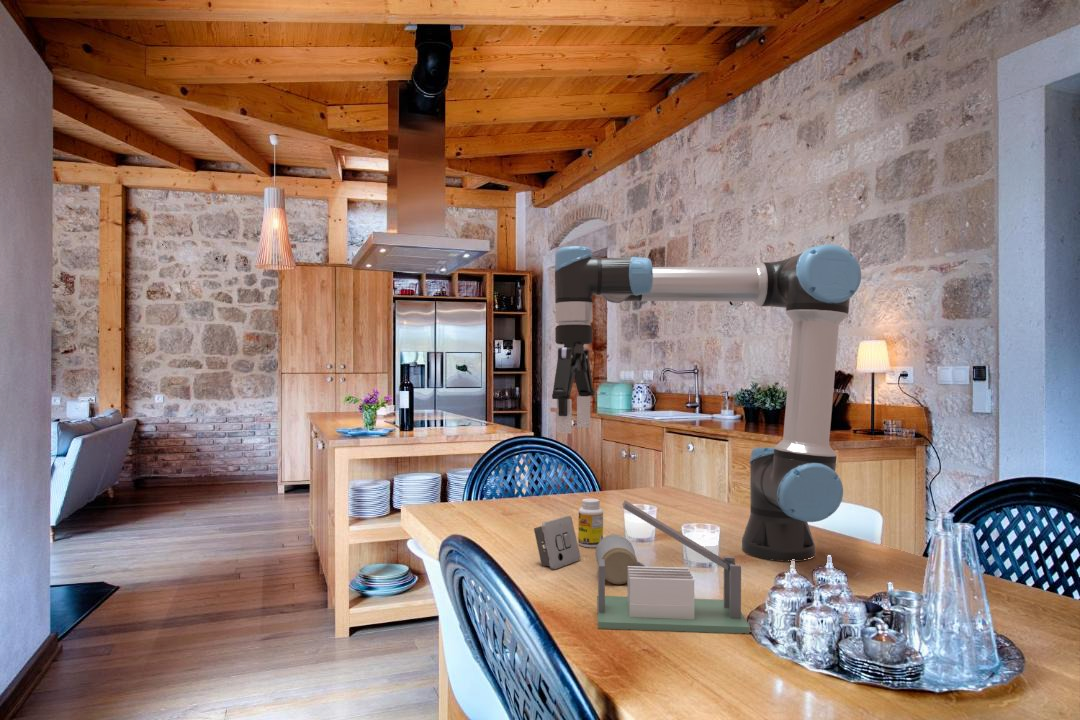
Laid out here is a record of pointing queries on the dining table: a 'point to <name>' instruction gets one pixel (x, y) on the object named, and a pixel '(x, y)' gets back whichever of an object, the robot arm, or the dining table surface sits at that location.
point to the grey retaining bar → (677, 536)
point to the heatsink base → (670, 602)
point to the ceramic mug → (616, 558)
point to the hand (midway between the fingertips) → (574, 430)
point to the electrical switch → (557, 542)
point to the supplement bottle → (590, 523)
